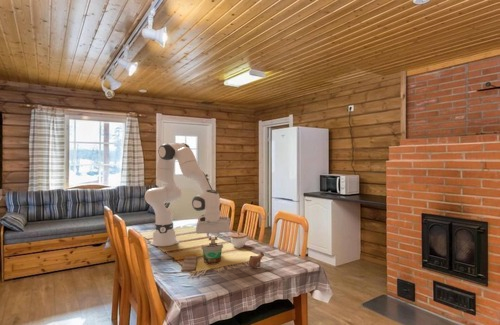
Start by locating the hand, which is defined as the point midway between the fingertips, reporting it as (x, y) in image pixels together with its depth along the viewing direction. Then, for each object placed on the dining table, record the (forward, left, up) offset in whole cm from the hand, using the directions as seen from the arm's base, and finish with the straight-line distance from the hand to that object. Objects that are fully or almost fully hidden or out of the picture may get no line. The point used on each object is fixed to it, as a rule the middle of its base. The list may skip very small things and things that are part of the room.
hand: (213, 240), depth 186 cm
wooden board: (+13, -13, -9) cm, 21 cm away
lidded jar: (-17, +17, -10) cm, 26 cm away
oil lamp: (+24, +23, -10) cm, 35 cm away
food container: (+13, 0, -10) cm, 16 cm away
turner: (+2, 0, -2) cm, 3 cm away
